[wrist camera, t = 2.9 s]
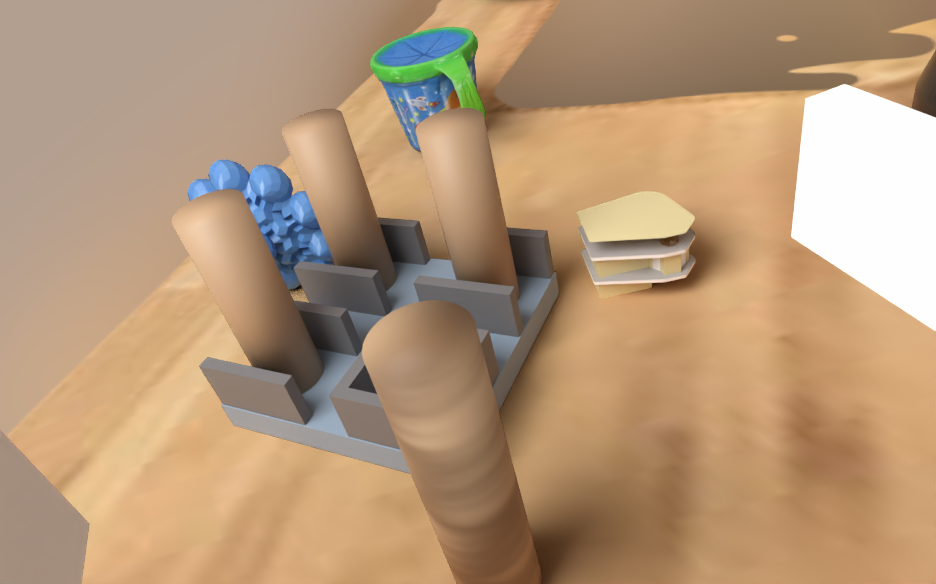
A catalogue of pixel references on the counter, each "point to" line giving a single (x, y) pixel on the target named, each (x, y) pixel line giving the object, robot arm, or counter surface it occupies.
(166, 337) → the counter surface
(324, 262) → the grapes
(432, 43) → the snack cup
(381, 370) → the loose leg
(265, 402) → the stool
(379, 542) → the counter surface
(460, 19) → the counter surface
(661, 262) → the tiered building model
